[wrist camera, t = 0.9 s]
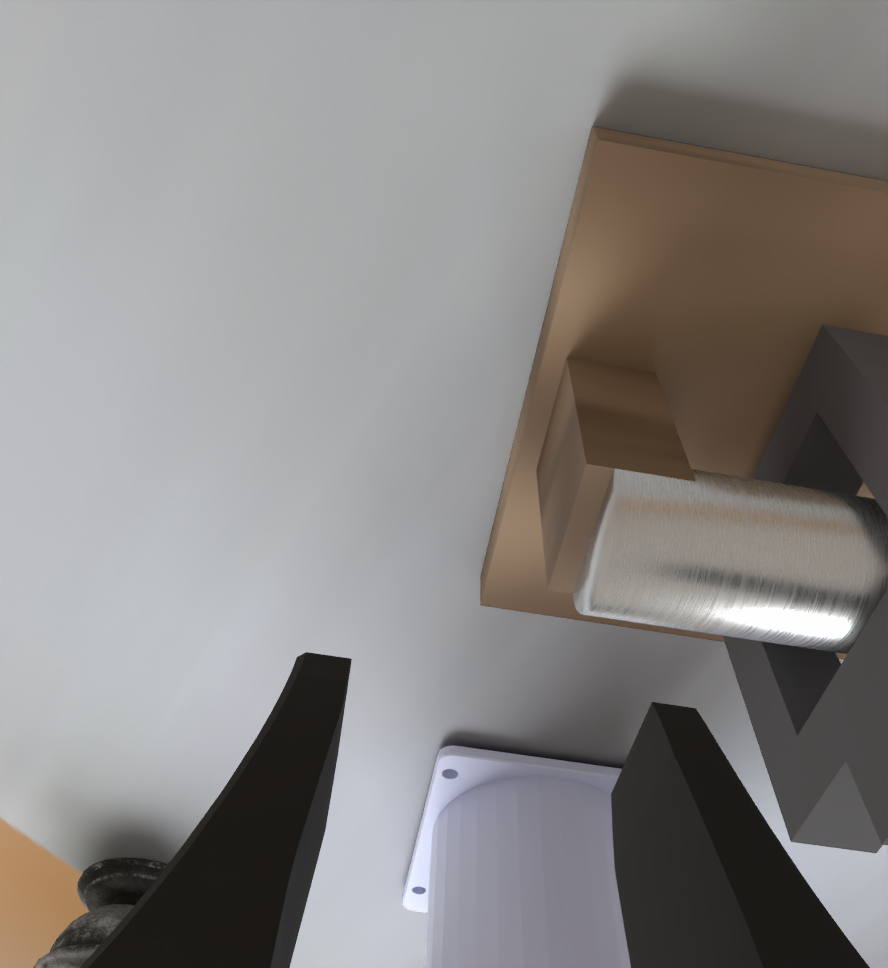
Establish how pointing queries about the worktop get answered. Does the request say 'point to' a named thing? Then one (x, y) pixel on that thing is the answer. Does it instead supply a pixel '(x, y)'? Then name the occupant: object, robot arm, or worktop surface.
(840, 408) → the grey pipe bracket
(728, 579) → the pipe stand
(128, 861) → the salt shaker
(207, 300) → the worktop surface
